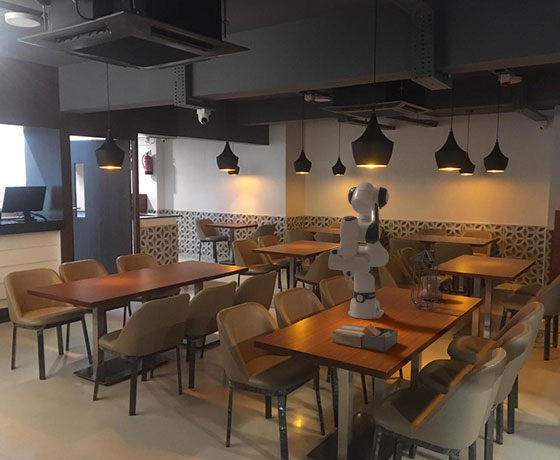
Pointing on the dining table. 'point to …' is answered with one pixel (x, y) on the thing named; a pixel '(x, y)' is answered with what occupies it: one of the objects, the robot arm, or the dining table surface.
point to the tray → (380, 340)
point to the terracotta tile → (371, 331)
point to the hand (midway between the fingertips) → (348, 280)
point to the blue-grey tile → (385, 335)
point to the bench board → (349, 335)
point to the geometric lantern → (427, 277)
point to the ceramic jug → (424, 292)
